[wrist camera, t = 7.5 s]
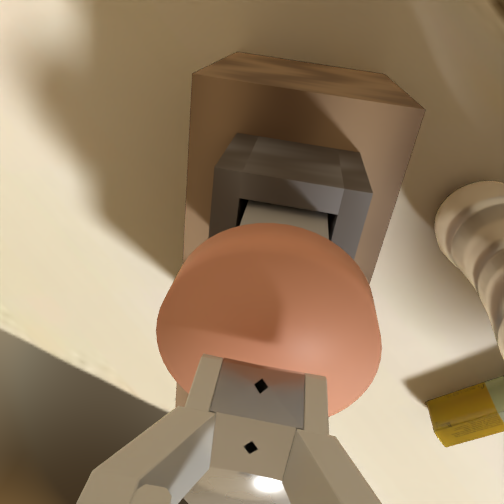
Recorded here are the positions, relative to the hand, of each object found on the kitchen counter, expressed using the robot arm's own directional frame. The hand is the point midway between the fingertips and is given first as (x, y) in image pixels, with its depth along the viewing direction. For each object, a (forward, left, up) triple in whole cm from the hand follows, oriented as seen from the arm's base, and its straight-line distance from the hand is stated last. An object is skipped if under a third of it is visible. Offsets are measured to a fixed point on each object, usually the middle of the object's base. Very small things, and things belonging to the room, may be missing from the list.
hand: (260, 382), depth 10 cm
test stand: (0, +6, -24) cm, 25 cm away
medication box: (-22, +20, -24) cm, 39 cm away
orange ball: (0, 0, -8) cm, 8 cm away
